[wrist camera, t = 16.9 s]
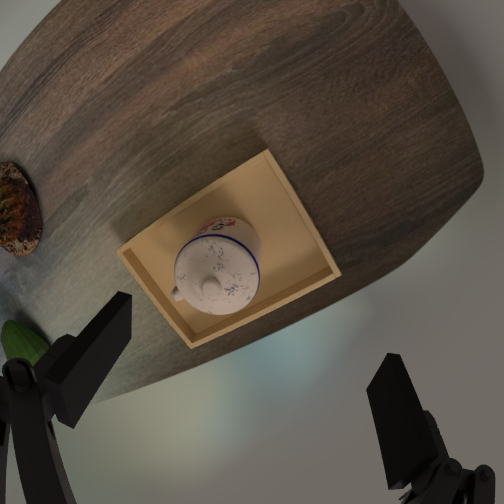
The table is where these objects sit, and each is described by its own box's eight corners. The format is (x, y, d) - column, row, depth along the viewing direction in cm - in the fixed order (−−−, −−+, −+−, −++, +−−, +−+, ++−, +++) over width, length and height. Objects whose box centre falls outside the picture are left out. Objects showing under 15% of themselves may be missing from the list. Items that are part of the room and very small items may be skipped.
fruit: (9, 317, 50) (-18, 341, 41) (29, 302, 48) (-2, 329, 39) (50, 372, 55) (28, 401, 45) (74, 364, 52) (50, 396, 43)
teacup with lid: (235, 199, 38) (218, 225, 27) (277, 257, 40) (277, 303, 30) (164, 250, 41) (128, 290, 30) (205, 301, 44) (183, 353, 33)
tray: (268, 147, 36) (267, 148, 33) (337, 265, 41) (341, 275, 38) (124, 243, 42) (114, 251, 39) (195, 337, 47) (190, 349, 44)
